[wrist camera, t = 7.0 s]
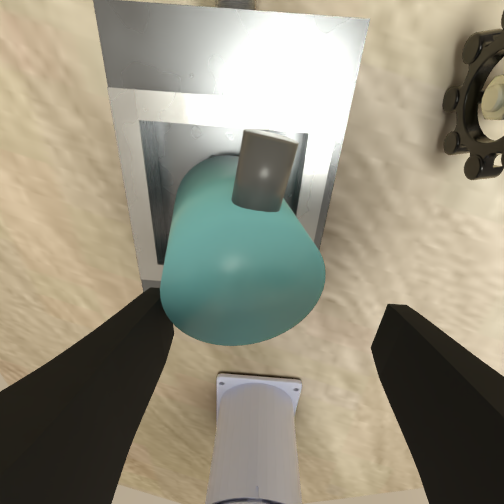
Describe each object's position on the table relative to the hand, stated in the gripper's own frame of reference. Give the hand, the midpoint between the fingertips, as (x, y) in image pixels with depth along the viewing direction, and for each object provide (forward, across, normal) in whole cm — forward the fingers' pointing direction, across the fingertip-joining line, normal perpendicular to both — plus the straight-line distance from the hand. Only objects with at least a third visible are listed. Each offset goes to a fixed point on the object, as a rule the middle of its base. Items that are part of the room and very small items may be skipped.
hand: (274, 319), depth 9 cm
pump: (+5, +2, -2) cm, 6 cm away
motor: (+9, +2, -3) cm, 10 cm away
